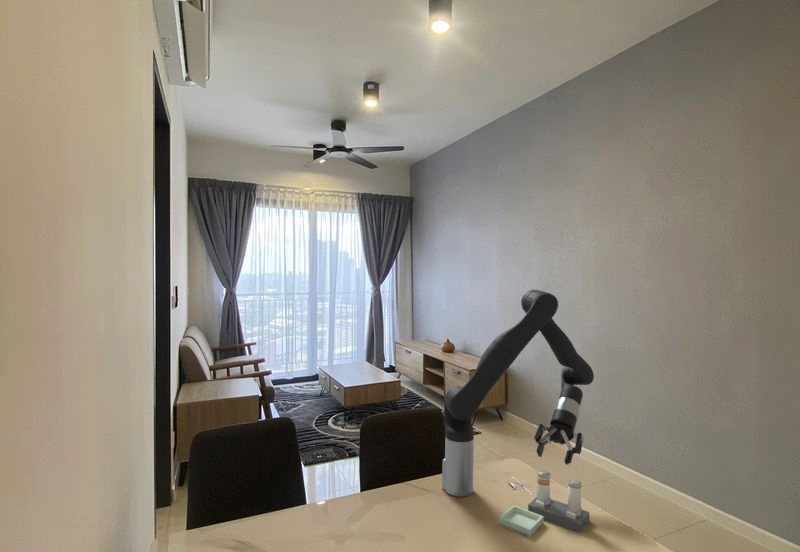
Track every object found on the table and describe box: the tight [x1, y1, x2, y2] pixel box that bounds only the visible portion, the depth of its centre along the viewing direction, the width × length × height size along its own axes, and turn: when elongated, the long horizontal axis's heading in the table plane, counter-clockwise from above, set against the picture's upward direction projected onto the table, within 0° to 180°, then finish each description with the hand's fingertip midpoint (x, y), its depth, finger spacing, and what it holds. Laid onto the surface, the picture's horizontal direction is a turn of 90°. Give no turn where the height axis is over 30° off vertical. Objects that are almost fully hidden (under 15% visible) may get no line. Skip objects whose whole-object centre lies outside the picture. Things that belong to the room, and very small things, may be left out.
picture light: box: [507, 476, 533, 497], centre depth 144 cm, size 14×4×2 cm, turn 12°
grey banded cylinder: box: [536, 469, 551, 506], centre depth 128 cm, size 4×4×9 cm
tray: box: [498, 504, 545, 538], centre depth 121 cm, size 9×9×2 cm
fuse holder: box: [527, 495, 590, 534], centre depth 125 cm, size 15×8×4 cm, turn 50°
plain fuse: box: [567, 478, 582, 517], centre depth 122 cm, size 4×4×9 cm
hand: (552, 459), depth 134 cm, fingers open, 8 cm apart
